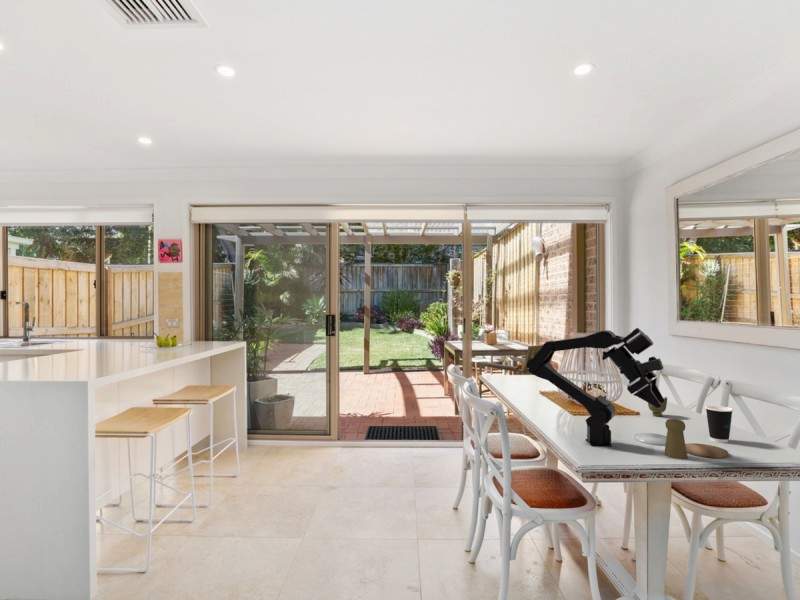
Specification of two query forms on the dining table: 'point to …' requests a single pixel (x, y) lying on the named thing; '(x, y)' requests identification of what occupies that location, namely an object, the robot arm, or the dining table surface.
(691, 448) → the walnut trivet
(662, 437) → the grey round disc
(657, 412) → the cup
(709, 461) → the dining table surface
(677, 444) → the olive chess pawn
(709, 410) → the dixie cup
